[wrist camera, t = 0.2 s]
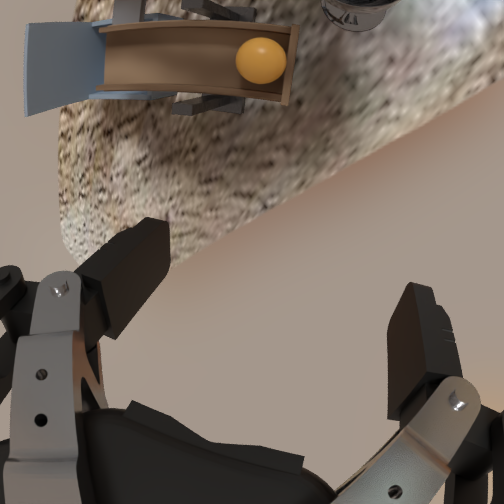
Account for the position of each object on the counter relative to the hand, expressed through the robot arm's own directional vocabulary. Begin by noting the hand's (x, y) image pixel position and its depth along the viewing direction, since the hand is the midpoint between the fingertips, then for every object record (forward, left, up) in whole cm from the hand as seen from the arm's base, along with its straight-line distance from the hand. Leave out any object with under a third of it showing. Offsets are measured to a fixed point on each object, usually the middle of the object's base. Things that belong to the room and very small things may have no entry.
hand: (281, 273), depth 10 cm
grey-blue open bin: (-6, -24, -29) cm, 38 cm away
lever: (-10, -13, -20) cm, 26 cm away
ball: (-6, -6, -18) cm, 20 cm away
